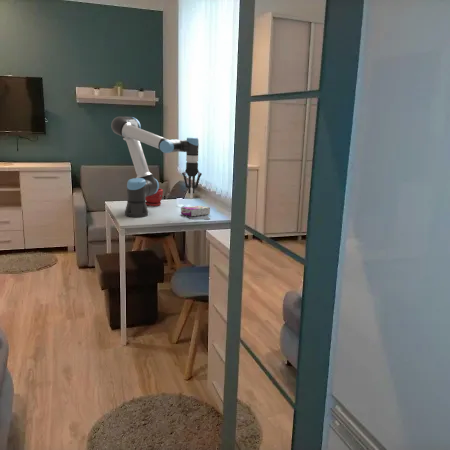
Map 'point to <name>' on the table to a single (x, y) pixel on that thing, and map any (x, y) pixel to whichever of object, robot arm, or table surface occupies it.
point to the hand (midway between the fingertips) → (191, 198)
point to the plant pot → (154, 198)
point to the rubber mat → (199, 217)
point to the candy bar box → (195, 210)
